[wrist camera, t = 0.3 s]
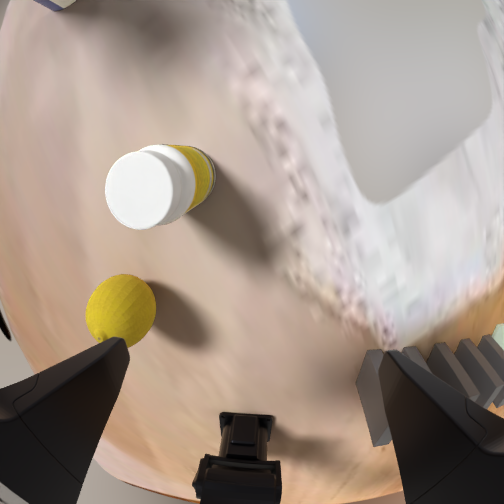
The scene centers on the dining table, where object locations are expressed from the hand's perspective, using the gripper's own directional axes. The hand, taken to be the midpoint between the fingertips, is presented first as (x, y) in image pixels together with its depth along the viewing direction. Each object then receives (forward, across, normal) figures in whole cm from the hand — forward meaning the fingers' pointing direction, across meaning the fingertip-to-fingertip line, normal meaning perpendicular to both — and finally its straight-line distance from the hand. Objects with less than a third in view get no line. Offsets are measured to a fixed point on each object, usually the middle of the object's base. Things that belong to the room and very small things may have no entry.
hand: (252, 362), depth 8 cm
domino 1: (+14, -12, +14) cm, 23 cm away
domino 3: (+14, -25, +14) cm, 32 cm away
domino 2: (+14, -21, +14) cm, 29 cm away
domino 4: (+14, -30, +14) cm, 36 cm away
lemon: (+14, +11, +5) cm, 19 cm away
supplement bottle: (+14, +6, -5) cm, 16 cm away
